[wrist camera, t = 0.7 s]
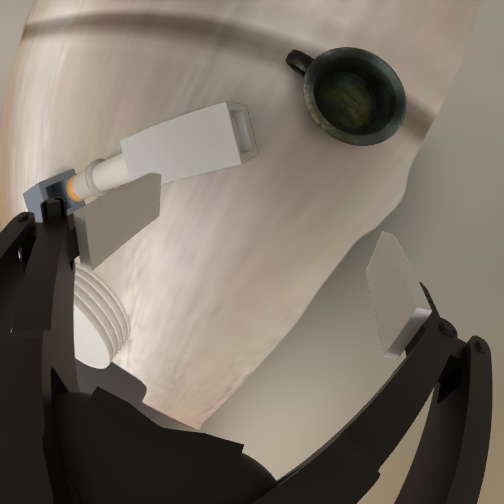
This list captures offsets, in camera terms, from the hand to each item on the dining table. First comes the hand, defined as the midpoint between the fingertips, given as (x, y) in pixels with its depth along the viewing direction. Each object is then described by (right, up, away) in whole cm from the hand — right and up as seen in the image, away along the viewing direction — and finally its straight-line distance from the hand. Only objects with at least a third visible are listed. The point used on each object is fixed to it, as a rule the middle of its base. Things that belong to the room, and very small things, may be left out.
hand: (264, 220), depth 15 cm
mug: (+11, +21, +18) cm, 29 cm away
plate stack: (-46, -17, +52) cm, 71 cm away
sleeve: (-8, +16, +25) cm, 31 cm away
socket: (-42, +12, +35) cm, 56 cm away
